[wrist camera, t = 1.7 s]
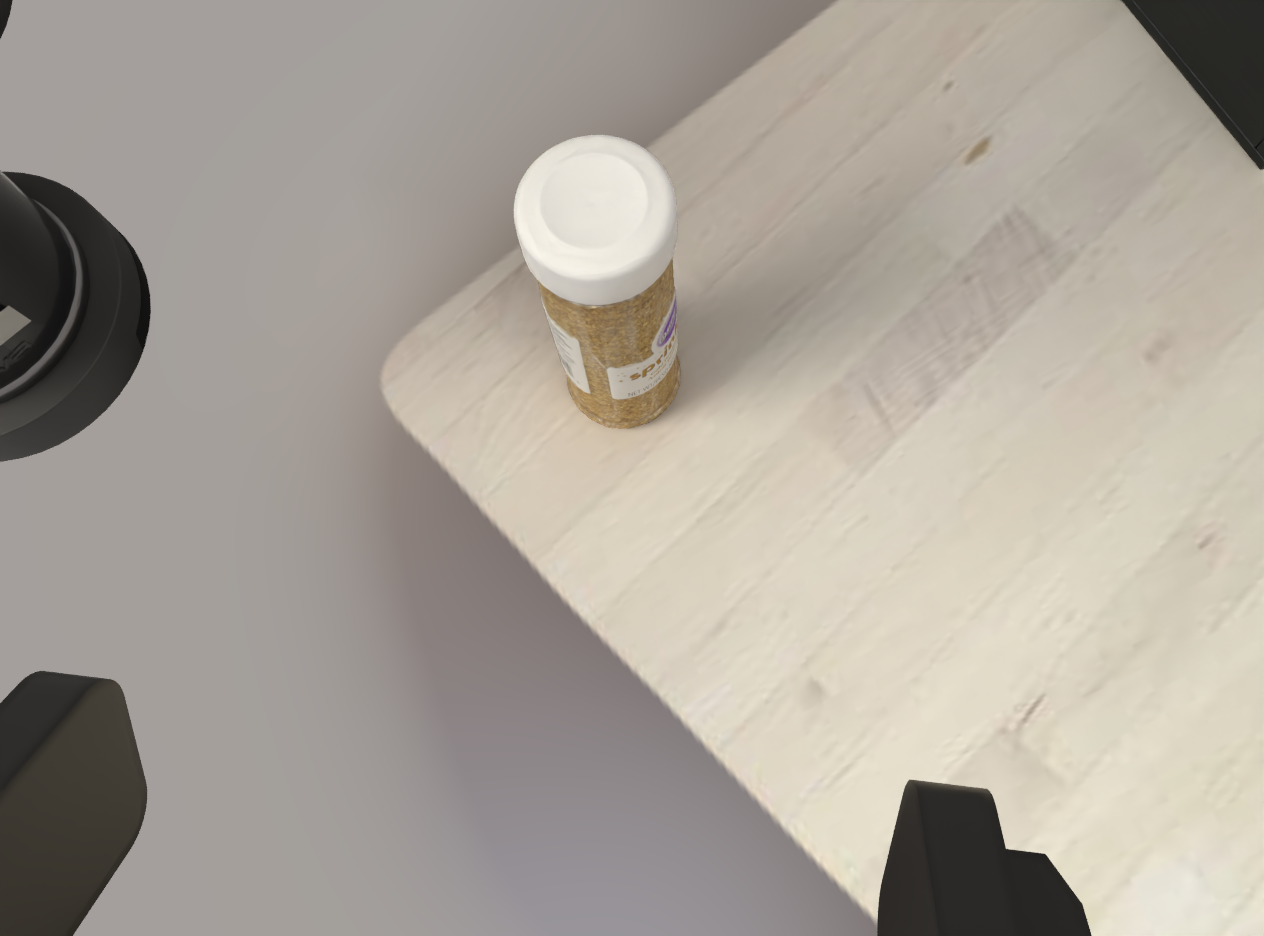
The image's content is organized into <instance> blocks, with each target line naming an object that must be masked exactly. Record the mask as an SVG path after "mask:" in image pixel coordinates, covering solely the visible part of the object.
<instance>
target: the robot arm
mask: <svg viewBox="0 0 1264 936" xmlns="http://www.w3.org/2000/svg"><path fill="white" fill-rule="evenodd" d="M11 5H12V0H0V38H1V36H2V34H3V32H4V30H5V27H6V25H7V21H8V18H9V15H10V10H11ZM88 296H89V273H88V266H87V262H86V258H85V255H84V252H83V250H82V248H81V246H80V244H79V242H78V240H77V238H76V237H75V235H74V234H73V232H72V231H71V230H70V229H69V228H68V226H67V225H66V224H65V223H63V222H62V221H61V220H60V219H59V218H58V217H57V216H56V215H55V214H53V213H52V212H51V211H50V210H49V209H47V208H46V207H45V206H43V205H42V204H40V203H39V202H37V201H35V200H33V199H32V198H31V197H30V196H28V195H27V194H26V193H25V192H24V191H23V190H22V189H20V188H19V187H18V186H17V185H16V184H15V183H13V182H12V181H11V180H10V179H9V178H8V177H6V175H5V174H3V173H2V172H1V171H0V404H1V403H3V402H5V401H7V400H10V399H12V398H14V397H15V396H17V395H19V394H21V393H23V392H24V391H26V390H27V389H29V388H30V387H32V386H33V385H34V384H36V383H37V382H38V381H39V380H41V379H42V378H43V377H44V376H45V375H46V374H47V373H48V372H50V371H51V370H52V368H53V367H54V366H55V365H56V364H57V363H58V362H59V361H60V359H61V358H62V357H63V356H64V354H65V353H66V352H67V350H68V349H69V347H70V346H71V344H72V342H73V341H74V339H75V337H76V335H77V333H78V331H79V329H80V326H81V324H82V321H83V318H84V315H85V312H86V308H87V303H88ZM146 804H147V786H146V780H145V776H144V772H143V768H142V765H141V760H140V757H139V752H138V749H137V745H136V740H135V736H134V732H133V729H132V725H131V720H130V717H129V713H128V709H127V705H126V701H125V697H124V694H123V691H122V689H121V687H120V685H119V684H118V683H117V682H115V681H114V680H111V679H104V678H96V677H87V676H79V675H71V674H63V673H55V672H46V671H39V672H35V673H33V674H30V675H29V676H27V677H26V678H25V679H23V680H22V681H21V682H20V683H19V684H18V685H17V686H16V687H15V689H14V690H13V691H12V692H11V693H10V694H9V695H8V696H7V697H6V698H5V699H4V700H3V701H2V702H1V703H0V936H73V934H74V933H75V931H76V930H77V928H78V927H79V925H80V924H81V922H82V921H83V919H84V918H85V916H86V915H87V913H88V912H89V910H90V909H91V907H92V906H93V904H94V903H95V901H96V900H97V898H98V897H99V895H100V894H101V893H102V891H103V890H104V888H105V887H106V885H107V884H108V882H109V880H110V879H111V878H112V876H113V874H114V873H115V871H116V870H117V868H118V867H119V865H120V864H121V863H122V861H123V859H124V858H125V857H126V855H127V854H128V852H129V851H130V849H131V847H132V846H133V844H134V842H135V840H136V838H137V836H138V834H139V831H140V829H141V826H142V822H143V819H144V815H145V811H146ZM878 936H1091V932H1090V929H1089V925H1088V922H1087V919H1086V915H1085V912H1084V909H1083V905H1082V903H1081V902H1080V901H1079V899H1078V898H1077V896H1076V895H1075V894H1074V892H1073V891H1072V890H1071V888H1070V887H1069V886H1068V884H1067V883H1066V881H1065V880H1064V879H1063V877H1062V876H1061V875H1060V873H1059V872H1058V871H1057V869H1056V868H1055V867H1054V865H1053V864H1052V862H1051V861H1050V860H1049V858H1048V857H1047V856H1046V854H1041V853H1033V852H1025V851H1017V850H1009V849H1006V848H1005V843H1004V839H1003V835H1002V831H1001V826H1000V822H999V818H998V813H997V809H996V805H995V802H994V799H993V796H992V794H991V793H990V791H989V790H988V789H983V788H974V787H966V786H958V785H950V784H942V783H933V782H925V781H917V780H909V781H908V782H907V784H906V786H905V789H904V793H903V796H902V800H901V805H900V809H899V813H898V817H897V821H896V825H895V830H894V834H893V838H892V842H891V846H890V850H889V854H888V859H887V863H886V867H885V871H884V875H883V879H882V884H881V890H880V897H879V907H878Z"/></svg>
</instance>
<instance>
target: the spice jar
mask: <svg viewBox="0 0 1264 936" xmlns="http://www.w3.org/2000/svg"><path fill="white" fill-rule="evenodd" d="M514 222H515V227H516V231H517V236H518V240H519V243H520V247H521V250H522V253H523V256H524V259H525V261H526V264H527V266H528V268H529V270H530V271H531V272H532V274H533V275H534V277H535V278H536V279H537V280H538V283H539V287H540V293H541V299H542V303H543V307H544V310H545V313H546V316H547V319H548V322H549V326H550V329H551V332H552V335H553V338H554V341H555V344H556V348H557V351H558V354H559V357H560V360H561V363H562V365H563V368H564V370H565V372H566V373H567V384H568V388H569V392H570V394H571V396H572V398H573V400H574V402H575V403H576V405H577V407H578V408H579V409H580V410H581V411H582V412H583V413H584V414H586V415H587V416H588V417H589V418H590V419H591V420H594V421H596V422H598V423H600V424H602V425H604V426H607V427H610V428H631V427H634V426H639V425H642V424H645V423H647V422H649V421H651V420H653V419H655V418H657V417H658V416H659V415H660V414H661V413H662V412H663V411H664V410H665V409H666V408H667V406H668V405H669V404H670V403H671V401H672V400H673V398H674V397H675V396H676V393H677V390H678V387H679V385H680V364H679V360H678V356H677V353H676V352H677V347H678V330H677V307H676V290H675V287H674V278H673V261H672V256H673V254H674V250H675V247H676V243H677V234H678V224H677V203H676V196H675V191H674V187H673V184H672V182H671V179H670V177H669V175H668V173H667V171H666V170H665V168H664V167H663V166H662V164H661V163H660V162H659V161H658V160H657V159H656V158H655V157H654V156H653V155H652V154H651V153H650V152H649V151H647V150H646V149H644V148H643V147H641V146H639V145H638V144H636V143H633V142H631V141H629V140H626V139H622V138H620V137H616V136H609V135H587V136H581V137H576V138H572V139H569V140H566V141H564V142H562V143H559V144H557V145H555V146H554V147H552V148H550V149H549V150H547V151H546V152H544V153H543V154H542V155H541V156H540V157H539V158H537V159H536V160H535V161H534V162H533V163H532V165H531V166H530V167H529V169H528V170H527V171H526V173H525V175H524V176H523V178H522V180H521V182H520V184H519V186H518V189H517V192H516V196H515V201H514Z"/></svg>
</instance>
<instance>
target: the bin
mask: <svg viewBox="0 0 1264 936" xmlns="http://www.w3.org/2000/svg"><path fill="white" fill-rule="evenodd" d="M1122 1H1123V2H1124V3H1125V4H1126V6H1127V7H1128V8H1129V9H1130V11H1131V12H1132V13H1133V14H1134V15H1135V17H1136V18H1137V19H1138V20H1139V22H1140V23H1141V24H1142V25H1143V26H1144V28H1145V29H1146V30H1147V31H1148V33H1149V34H1150V35H1151V36H1152V37H1153V39H1154V40H1155V41H1156V42H1157V44H1158V45H1159V46H1160V47H1161V48H1162V50H1163V51H1164V52H1165V53H1166V55H1167V56H1168V57H1169V58H1170V59H1171V61H1172V62H1173V63H1174V64H1175V66H1176V67H1177V68H1178V69H1179V70H1180V72H1181V73H1182V74H1183V75H1184V77H1185V78H1186V79H1187V80H1188V81H1189V83H1190V84H1191V85H1192V86H1193V88H1194V89H1195V90H1196V91H1197V92H1198V94H1199V95H1200V96H1201V97H1202V99H1203V100H1204V101H1205V102H1206V103H1207V105H1208V106H1209V107H1210V108H1211V109H1212V111H1213V112H1214V113H1215V114H1216V116H1217V117H1218V118H1219V119H1220V120H1221V122H1222V123H1223V124H1224V125H1225V127H1226V128H1227V129H1228V130H1229V131H1230V133H1231V134H1232V135H1233V136H1234V138H1235V139H1236V140H1237V141H1238V142H1239V144H1240V145H1241V146H1242V147H1243V149H1244V150H1245V151H1246V152H1247V153H1248V155H1249V156H1250V157H1251V158H1252V160H1253V161H1254V162H1255V163H1256V164H1257V166H1258V167H1259V168H1260V169H1263V168H1264V0H1122Z"/></svg>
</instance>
